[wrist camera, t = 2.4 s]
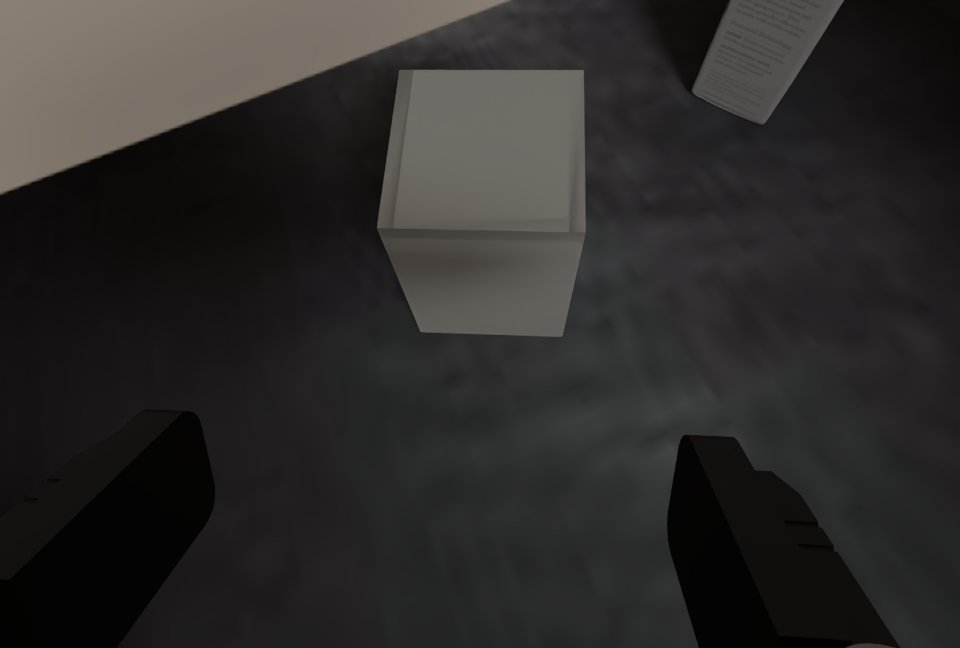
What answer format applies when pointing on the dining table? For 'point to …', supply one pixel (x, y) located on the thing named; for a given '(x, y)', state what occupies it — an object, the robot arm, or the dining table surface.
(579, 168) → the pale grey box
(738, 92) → the skincare box
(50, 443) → the dining table surface
